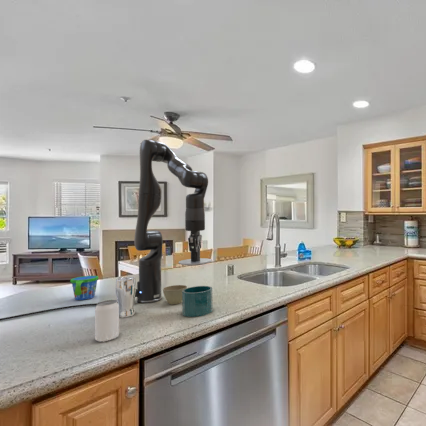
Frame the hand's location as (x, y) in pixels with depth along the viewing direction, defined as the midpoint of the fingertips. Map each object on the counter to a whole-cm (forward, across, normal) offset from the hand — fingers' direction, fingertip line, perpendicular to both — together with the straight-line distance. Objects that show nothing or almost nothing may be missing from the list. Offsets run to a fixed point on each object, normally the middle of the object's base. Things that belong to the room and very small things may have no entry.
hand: (195, 260), depth 122 cm
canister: (+22, 0, +1) cm, 22 cm away
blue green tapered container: (+22, -33, -58) cm, 70 cm away
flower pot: (+22, -16, -12) cm, 30 cm away
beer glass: (+22, -2, -27) cm, 35 cm away
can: (+22, +20, -23) cm, 38 cm away
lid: (+1, 0, 0) cm, 1 cm away
